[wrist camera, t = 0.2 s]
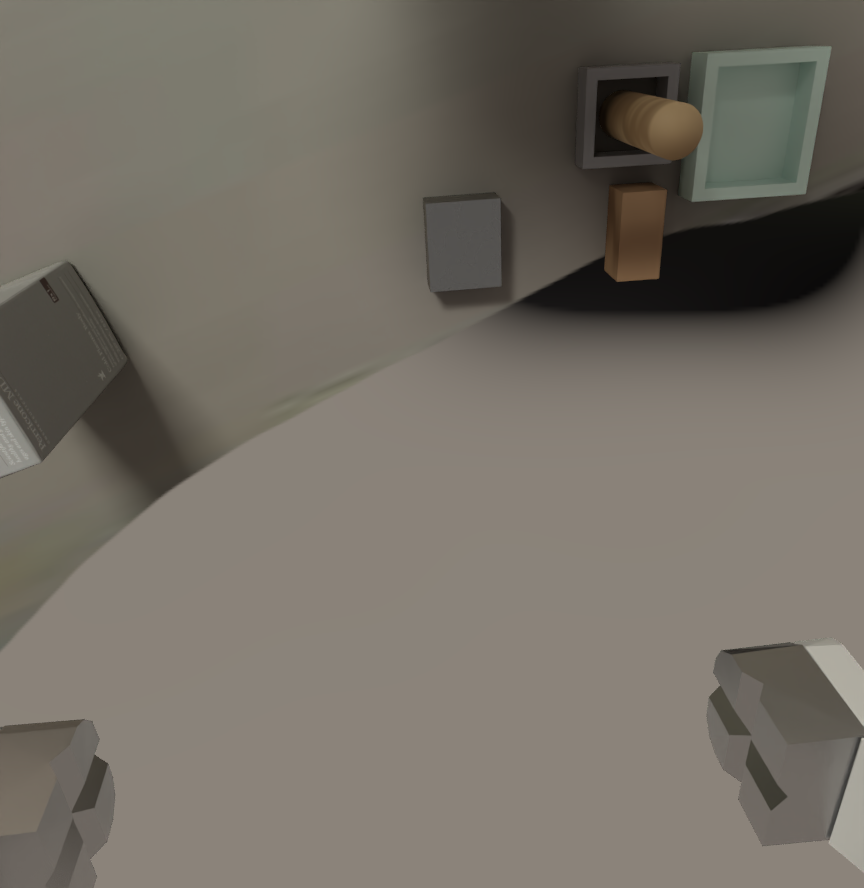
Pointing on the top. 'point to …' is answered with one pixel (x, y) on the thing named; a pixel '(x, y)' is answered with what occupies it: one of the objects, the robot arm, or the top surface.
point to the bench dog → (634, 231)
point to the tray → (754, 121)
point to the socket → (587, 111)
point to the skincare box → (49, 362)
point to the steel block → (463, 241)
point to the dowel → (652, 123)
